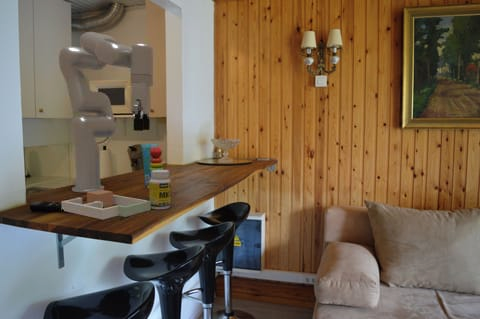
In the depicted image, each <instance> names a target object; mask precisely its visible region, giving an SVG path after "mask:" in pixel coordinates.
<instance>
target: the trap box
mask: <svg viewBox="0 0 480 319" xmlns="http://www.w3.org/2000/svg"><path fill="white" fill-rule="evenodd" d="M62 209H63V210H64V211H63V212H67V213H71V214H76V215H80V216H85V217H90V218H94V219H99V220H102V221H103V220H106V219H110V218H113V217H114V218H115V217H124V218H127V217H130V216H134V215H137V214H138V215H139V214H140V213H144V212H149V211H151V210H152V209H151V201H149V200H146V199H140V198H134V197H127V196H122V195H118V194H113V205H112V206H108V207H104V208H103V202H100V201H94V202H93V203H88V204H87V203H84V204H83V198H82V197H76V198H71V199H67V200H61V210H62Z"/></svg>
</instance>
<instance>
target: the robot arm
mask: <svg viewBox="0 0 480 319" xmlns="http://www.w3.org/2000/svg"><path fill="white" fill-rule="evenodd" d="M79 45H80V46H73V45H72V46H71V45H70V46H65V47H62V48H61V49H60V51H59V55H58V65H59V68H60V72H61V74H62V76H63V77H64V81H65V82H66V87H67V91H68V97H69V101H70V105H71V108H72V111H74V112H75V113H78V114H80V115H77V116H75V117H74V118H73V119H72V121H71V130H72V134H73V135H72V136H73V139H74V140H73V141H74V153H75V155H74V157H75V179H74V180H72V184H74V186H73V187H72V188H71V191H72V192H75V193H87V192H92V191H97V190H105V186H104V185H101V152H100V146H99V144H98V143H97V141H96V140H95V139H97V138H102V139H103V138H110V137H113V136H114V135H115V132H116V121H115V117H114V113H113V107H112V104H111V99H110V98H109V96H108V95H107V94H106V93H104V92H102V91H101V92H100V91H93V90H91V89H90V86H89V85H90V84H89V80H88V78H87V77H86V76H85V74H84V73H83V72H82V71H81V70H80V69H82V70H89V71H90V70H91V71H100V70H103V68H105V67H106V66H108V65H110V66H113V67H120V68H127V69H130V85H131V91H130V92H131V94H130V113H132V114H133V131H136V132H137V131H139V132H140V131H141V132H142V131H149V130H150V126H151V125H150V120H151V119H150V113H151V105H152V104H151V102H152V101H151V87H153V85H154V50H153V47H152V46H151V45H149V44H145V43H133V44H132V45H130V46H128V45H125V44H120V43H118V41H117V39H116V38H115V37H114V36H112V35H109V34H104V33H98V32H95V31H87V32H84V33H83V34H81V36H80V38H79Z"/></svg>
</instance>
